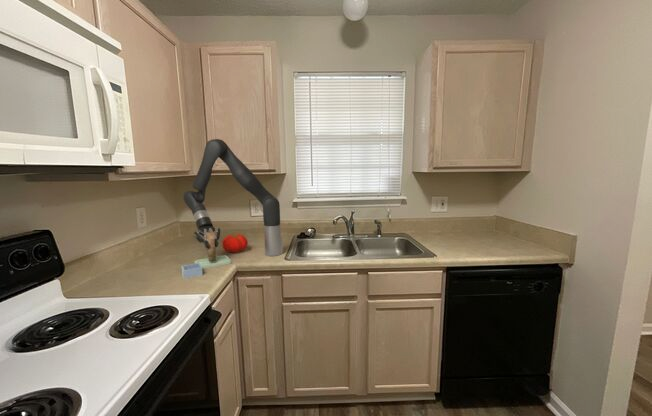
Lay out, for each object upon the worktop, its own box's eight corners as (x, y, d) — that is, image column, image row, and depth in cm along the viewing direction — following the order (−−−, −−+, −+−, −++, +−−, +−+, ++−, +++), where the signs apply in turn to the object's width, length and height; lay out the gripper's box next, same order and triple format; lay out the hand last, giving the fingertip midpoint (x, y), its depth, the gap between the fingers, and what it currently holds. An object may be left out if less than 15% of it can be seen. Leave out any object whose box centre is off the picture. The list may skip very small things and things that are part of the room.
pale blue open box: (200, 271, 132) (199, 262, 132) (202, 276, 126) (202, 267, 125) (182, 275, 128) (181, 265, 127) (184, 280, 122) (183, 270, 121)
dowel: (215, 259, 144) (213, 231, 142) (216, 260, 141) (214, 232, 139) (208, 260, 142) (206, 232, 140) (209, 262, 139) (207, 233, 137)
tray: (226, 258, 151) (225, 254, 151) (231, 264, 141) (231, 260, 141) (194, 264, 143) (194, 260, 142) (197, 271, 133) (197, 267, 132)
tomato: (243, 246, 176) (242, 231, 175) (251, 252, 162) (250, 236, 161) (219, 250, 168) (218, 234, 167) (226, 256, 155) (224, 239, 154)
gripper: (189, 218, 139) (199, 245, 132) (217, 214, 149) (228, 240, 142) (187, 226, 144) (197, 254, 137) (214, 223, 153) (224, 248, 146)
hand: (212, 246), depth 139 cm, fingers closed on dowel, 3 cm apart
